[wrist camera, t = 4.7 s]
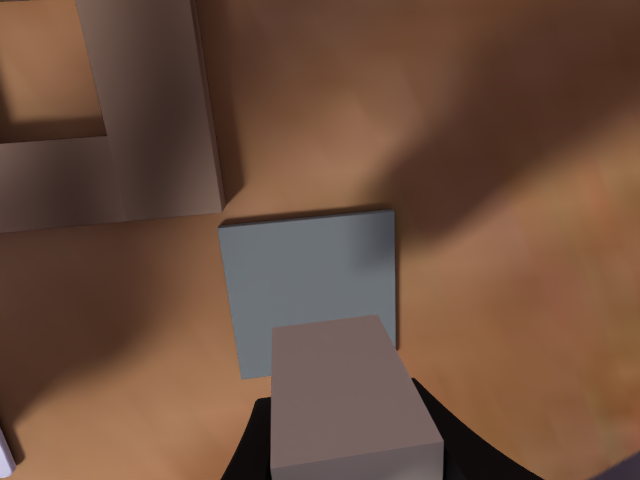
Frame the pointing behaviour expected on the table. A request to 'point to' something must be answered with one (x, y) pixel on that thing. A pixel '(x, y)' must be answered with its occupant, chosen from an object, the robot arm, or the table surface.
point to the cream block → (347, 406)
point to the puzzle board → (125, 129)
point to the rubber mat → (306, 276)
